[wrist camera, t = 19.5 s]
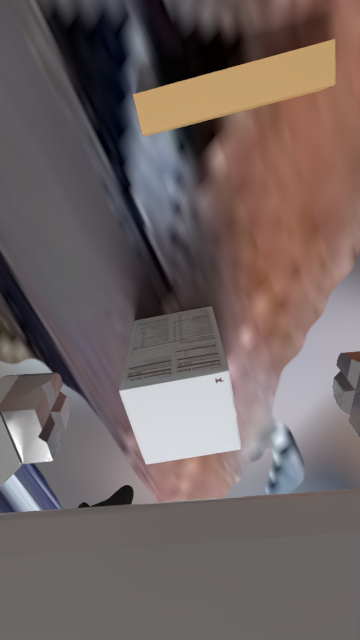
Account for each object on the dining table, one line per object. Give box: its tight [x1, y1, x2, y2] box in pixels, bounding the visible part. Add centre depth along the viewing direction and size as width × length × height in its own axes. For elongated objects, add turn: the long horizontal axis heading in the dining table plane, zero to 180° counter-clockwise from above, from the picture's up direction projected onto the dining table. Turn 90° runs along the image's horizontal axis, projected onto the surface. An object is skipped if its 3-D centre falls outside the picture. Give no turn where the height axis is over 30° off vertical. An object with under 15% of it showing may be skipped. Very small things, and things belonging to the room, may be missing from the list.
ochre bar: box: [133, 39, 335, 137], centre depth 37 cm, size 22×4×4 cm, turn 103°
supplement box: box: [119, 306, 242, 464], centre depth 47 cm, size 13×13×18 cm
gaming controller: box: [78, 485, 133, 508], centre depth 67 cm, size 14×6×10 cm, turn 119°
